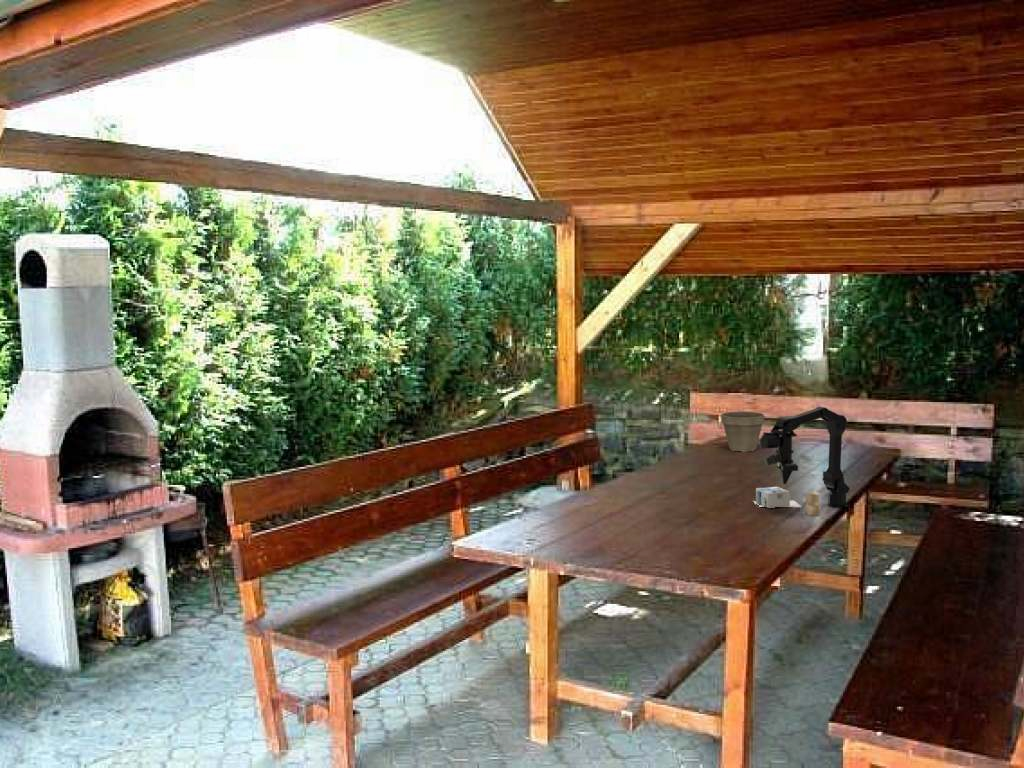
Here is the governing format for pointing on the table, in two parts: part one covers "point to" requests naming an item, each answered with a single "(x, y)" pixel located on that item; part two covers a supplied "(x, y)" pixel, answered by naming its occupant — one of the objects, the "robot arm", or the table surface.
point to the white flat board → (792, 504)
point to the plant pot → (742, 429)
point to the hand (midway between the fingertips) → (784, 483)
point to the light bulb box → (772, 497)
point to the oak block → (812, 503)
